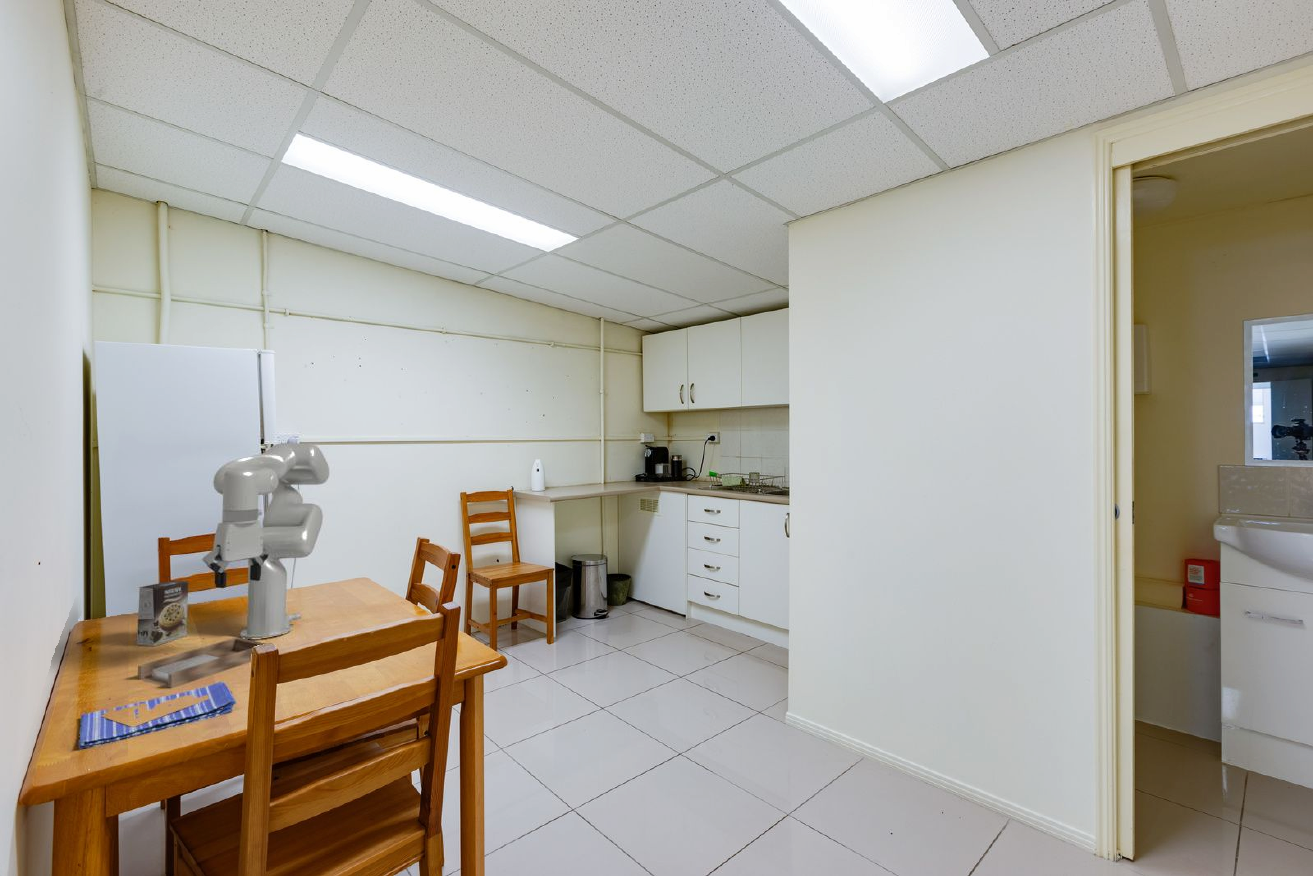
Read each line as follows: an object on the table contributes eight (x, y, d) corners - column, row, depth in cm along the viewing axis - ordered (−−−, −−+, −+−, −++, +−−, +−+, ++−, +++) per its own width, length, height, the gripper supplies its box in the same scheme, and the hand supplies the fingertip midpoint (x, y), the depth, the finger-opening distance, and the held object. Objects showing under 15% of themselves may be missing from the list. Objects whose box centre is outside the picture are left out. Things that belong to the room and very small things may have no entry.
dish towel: (237, 713, 120) (237, 700, 120) (77, 755, 103) (77, 739, 103) (225, 688, 132) (225, 676, 132) (80, 721, 115) (80, 707, 115)
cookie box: (154, 647, 156) (156, 588, 156) (135, 645, 157) (137, 586, 157) (187, 636, 165) (189, 580, 165) (170, 634, 166) (171, 579, 166)
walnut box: (236, 651, 154) (237, 637, 154) (268, 658, 149) (269, 644, 149) (137, 682, 133) (138, 665, 133) (171, 691, 128) (171, 674, 128)
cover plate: (203, 662, 144) (203, 654, 144) (223, 667, 141) (223, 658, 141) (151, 678, 134) (151, 669, 134) (172, 683, 131) (172, 675, 131)
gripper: (264, 512, 158) (262, 575, 157) (193, 519, 141) (191, 589, 141) (282, 514, 155) (281, 578, 154) (212, 521, 139) (210, 593, 138)
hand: (238, 583), depth 148 cm, fingers open, 7 cm apart
